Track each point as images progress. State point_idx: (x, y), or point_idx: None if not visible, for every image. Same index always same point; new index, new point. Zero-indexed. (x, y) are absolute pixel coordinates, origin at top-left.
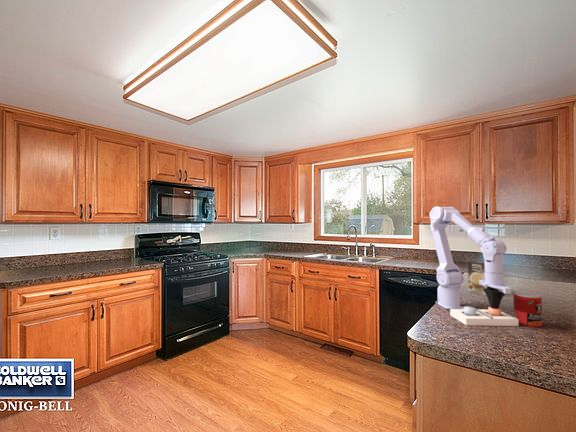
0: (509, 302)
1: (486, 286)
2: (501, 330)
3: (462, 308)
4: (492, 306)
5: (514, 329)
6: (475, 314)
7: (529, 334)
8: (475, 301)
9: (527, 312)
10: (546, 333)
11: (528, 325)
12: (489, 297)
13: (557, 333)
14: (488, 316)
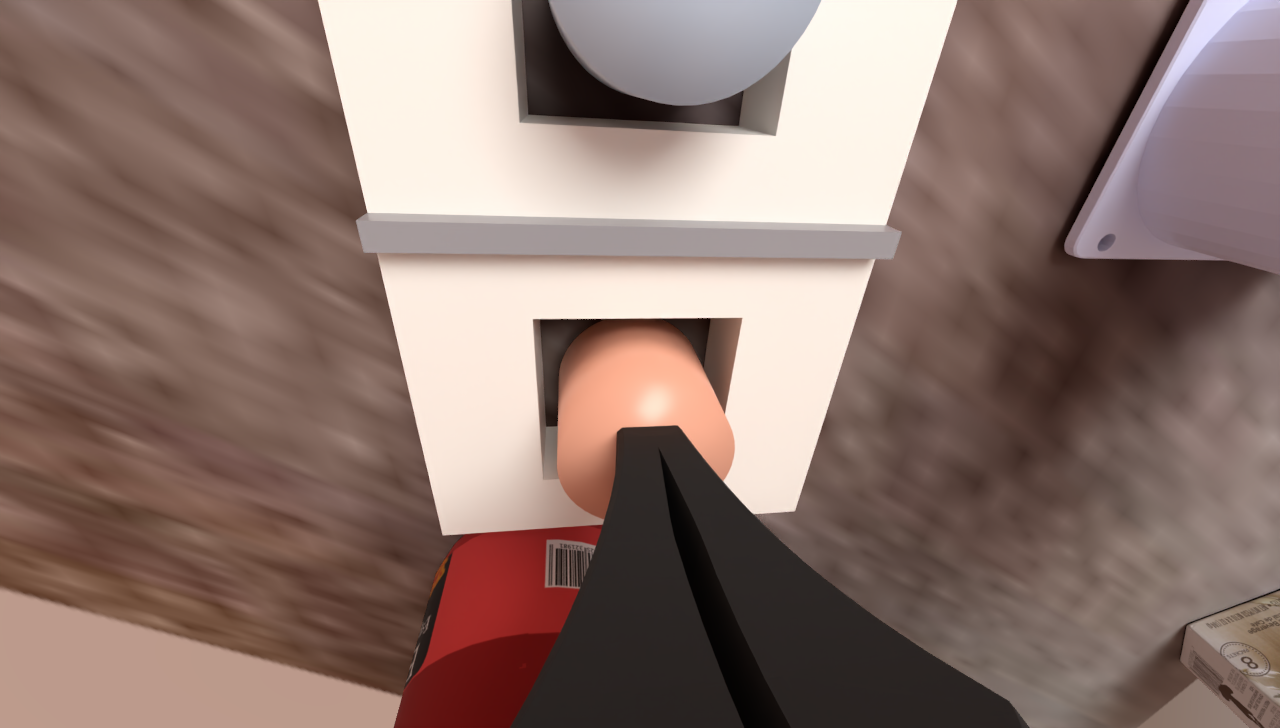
0: (1000, 664)
1: (1275, 703)
2: (209, 204)
3: (1083, 219)
4: (619, 446)
5: (323, 386)
6: (557, 22)
7: (183, 438)
8: (1156, 499)
9: (418, 680)
10: (291, 570)
11: (453, 547)
12: (709, 569)
13: (323, 626)
14: (445, 218)
